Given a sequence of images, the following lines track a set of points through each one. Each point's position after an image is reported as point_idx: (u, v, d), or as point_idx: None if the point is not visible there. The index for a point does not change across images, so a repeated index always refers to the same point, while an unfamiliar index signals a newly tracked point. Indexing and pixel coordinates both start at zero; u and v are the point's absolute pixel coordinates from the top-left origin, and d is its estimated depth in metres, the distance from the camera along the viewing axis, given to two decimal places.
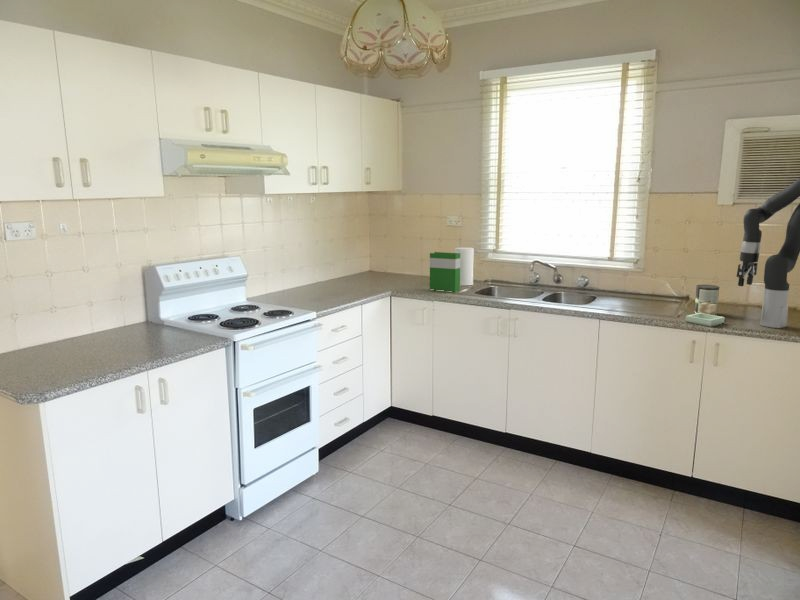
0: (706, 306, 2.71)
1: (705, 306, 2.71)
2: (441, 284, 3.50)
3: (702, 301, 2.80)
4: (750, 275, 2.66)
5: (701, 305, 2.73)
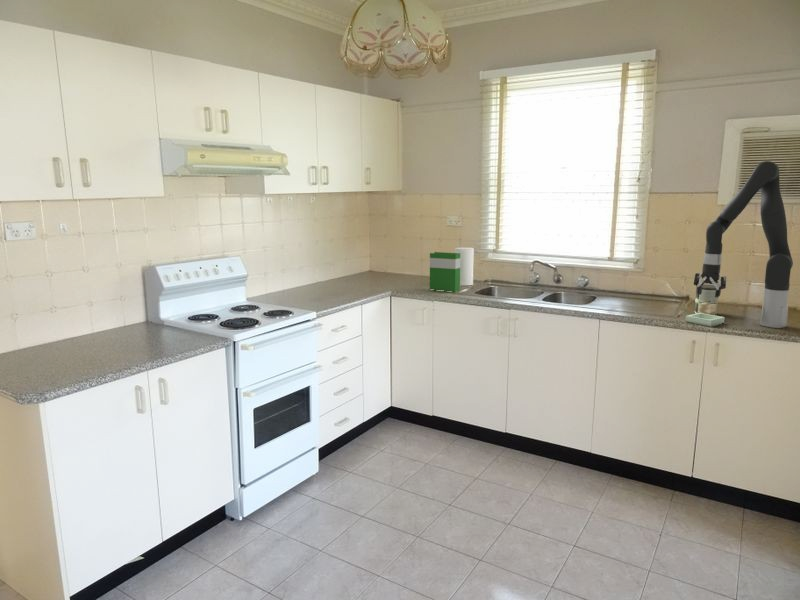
0: (706, 306, 2.71)
1: (705, 306, 2.71)
2: (441, 284, 3.50)
3: (702, 301, 2.80)
4: (700, 285, 2.75)
5: (701, 305, 2.73)
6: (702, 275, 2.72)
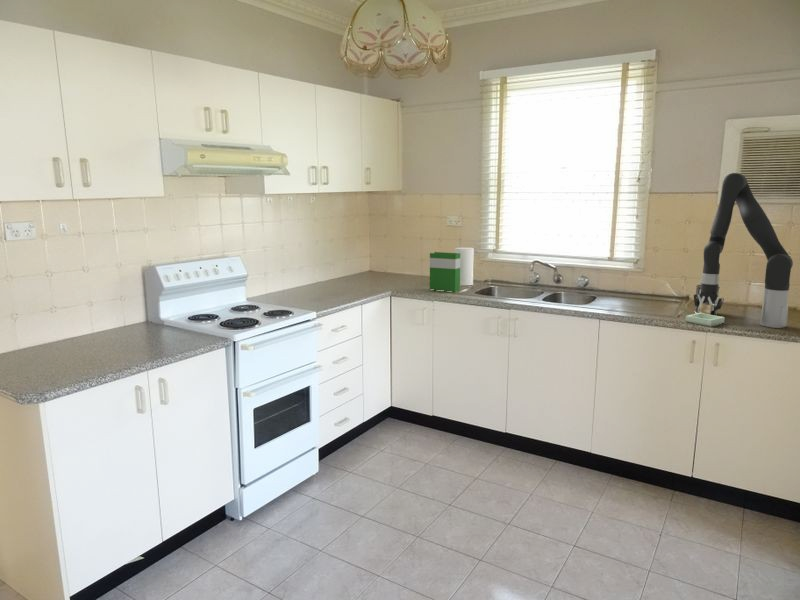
0: (706, 306, 2.71)
1: (705, 306, 2.71)
2: (441, 284, 3.50)
3: None
4: None
5: (701, 305, 2.73)
6: (700, 295, 2.74)
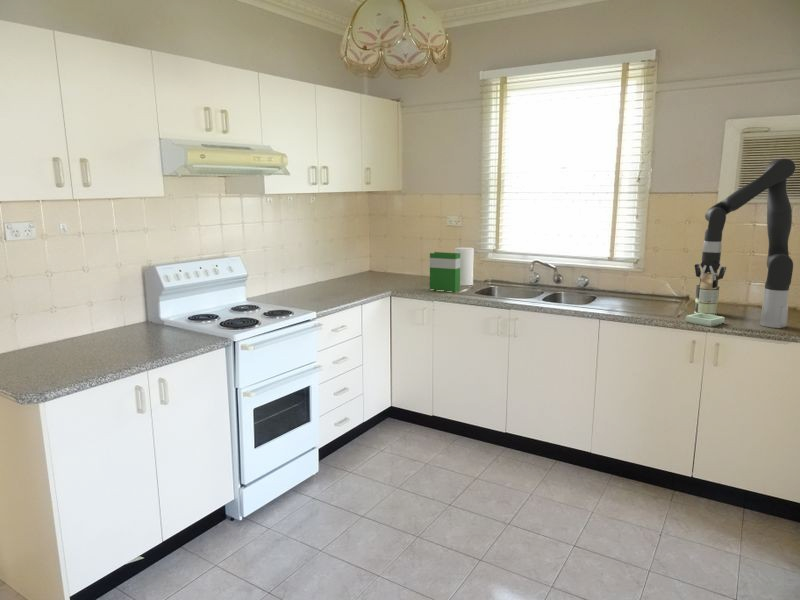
0: (708, 276, 2.58)
1: (707, 276, 2.58)
2: (441, 284, 3.50)
3: (702, 301, 2.80)
4: None
5: (702, 275, 2.60)
6: (702, 264, 2.61)
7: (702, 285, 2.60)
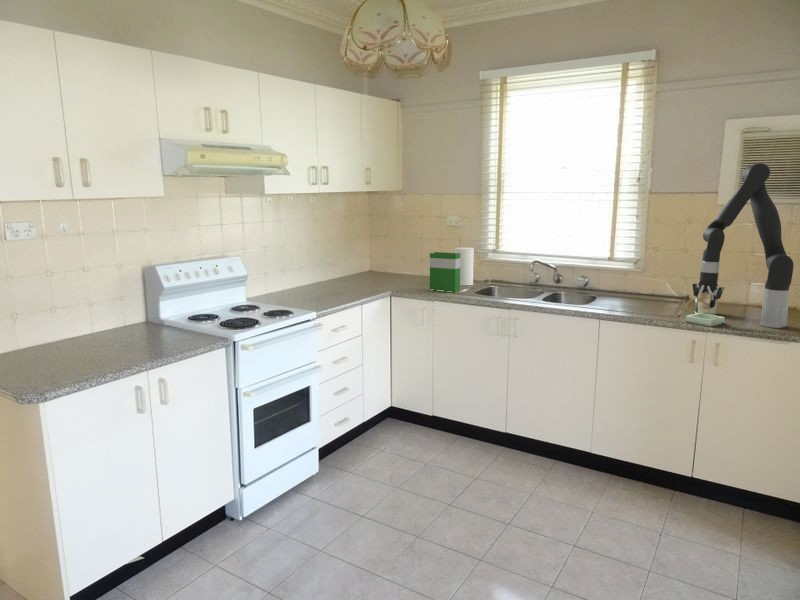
0: (705, 295, 2.60)
1: (704, 295, 2.60)
2: (441, 284, 3.50)
3: None
4: None
5: (700, 294, 2.62)
6: (699, 284, 2.63)
7: (700, 304, 2.62)
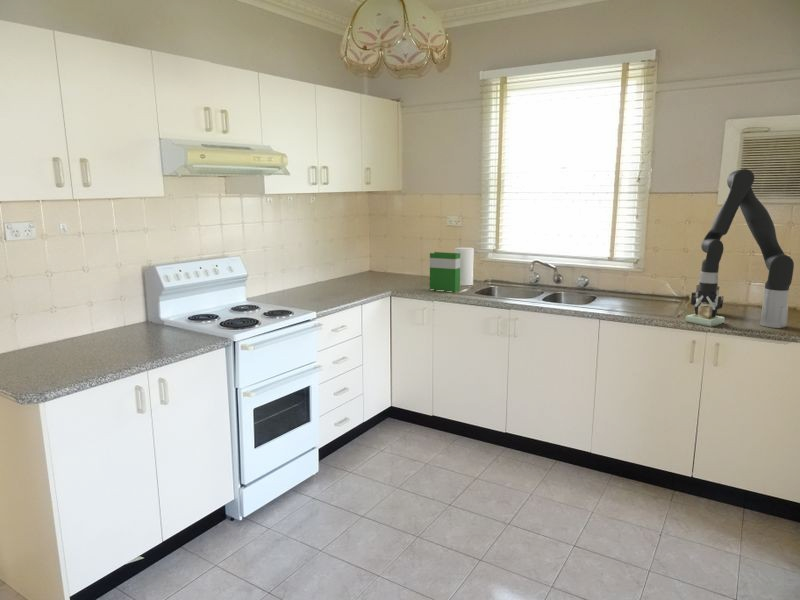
0: (705, 309, 2.61)
1: (704, 309, 2.61)
2: (441, 284, 3.50)
3: None
4: (698, 305, 2.66)
5: (700, 308, 2.63)
6: (699, 294, 2.64)
7: (700, 317, 2.63)
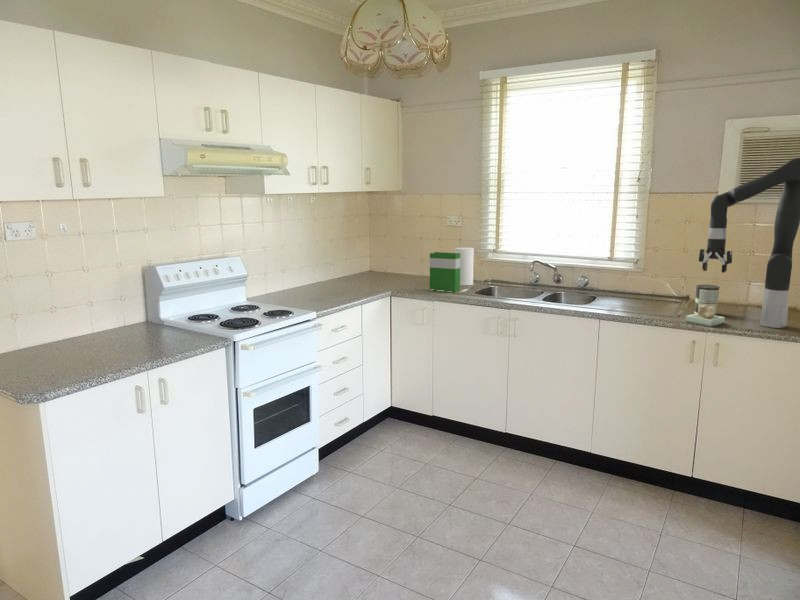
0: (705, 309, 2.61)
1: (704, 309, 2.61)
2: (441, 284, 3.50)
3: (702, 301, 2.80)
4: (706, 261, 2.69)
5: (700, 308, 2.63)
6: (707, 251, 2.67)
7: (700, 317, 2.63)
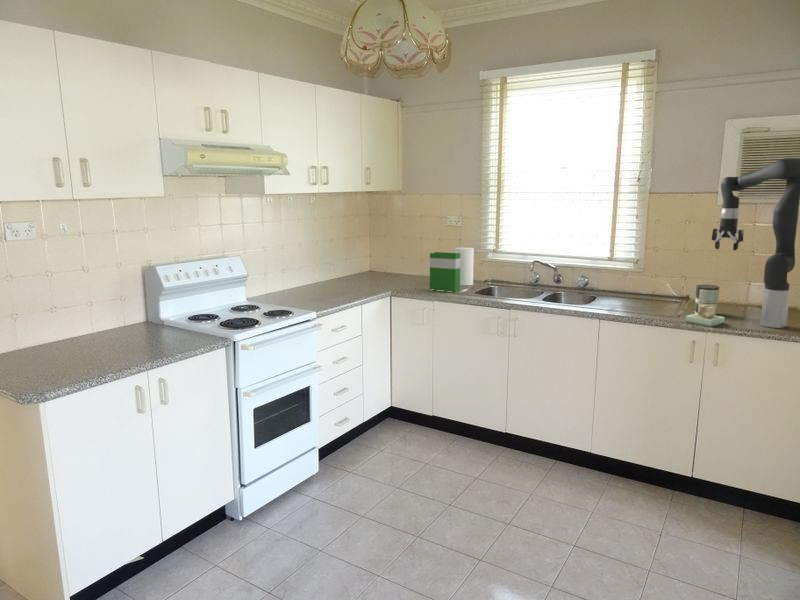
0: (705, 309, 2.61)
1: (704, 309, 2.61)
2: (441, 284, 3.50)
3: (702, 301, 2.80)
4: (718, 240, 2.85)
5: (700, 308, 2.63)
6: (720, 230, 2.82)
7: (700, 317, 2.63)
